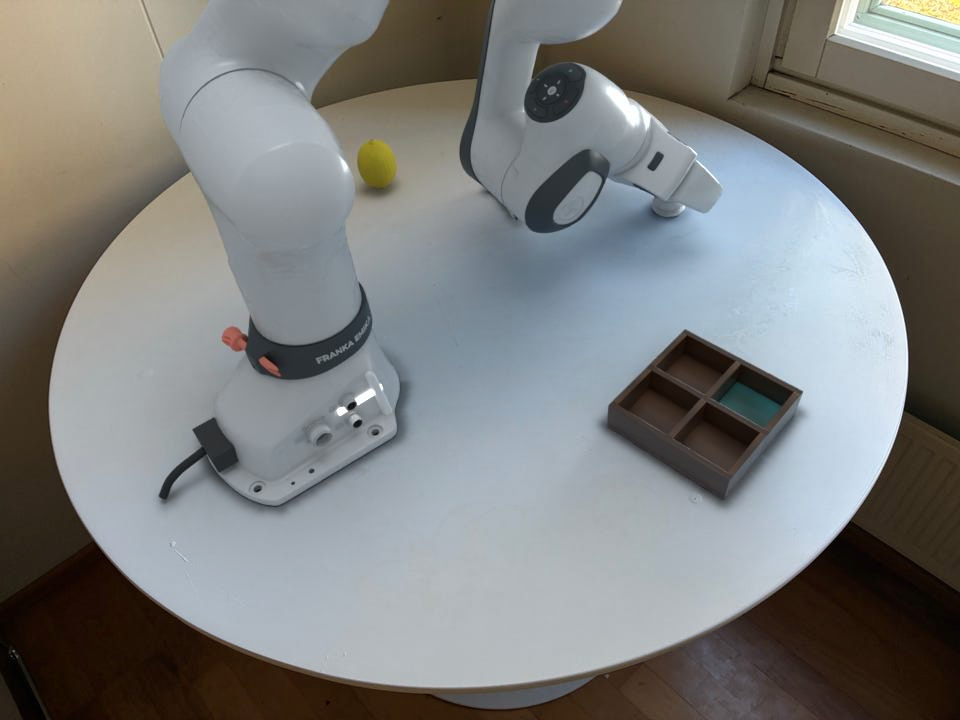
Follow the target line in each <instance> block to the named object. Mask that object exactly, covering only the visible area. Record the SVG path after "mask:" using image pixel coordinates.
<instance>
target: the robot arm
mask: <svg viewBox="0 0 960 720" xmlns="http://www.w3.org/2000/svg"><path fill="white" fill-rule="evenodd" d="M390 1H391V0H209V1H208V3H207V5H206V6H205V8H204V9H203V11H202V13H200V15H199V16H198V19H197V20H196V21H195V23H194V25H193V27H192V28H191V29H190V31H189V33H188V34H186V35H183V37H181V38H180V39H178V40H177V41H175V43H174V44H172V45H171V46H170V48H168V50H167V51H166V53H165V55H164V56H163V58H162V60H161V63H160V65H159V70H158V77H157V79H158V80H157V81H158V82H157V83H158V97H159V105H160V106H159V107H160V111H161V116H162V120H163V123H164V125H165V127H166V129H167V131H168V132H169V134H170V136H171V137H172V139H173V141H174V143H175V145H176V146H177V149H178V151H179V152H180V153H181V156H182V157H183V161H184V162H185V164H186V166H187V168H188V170H189V171H190V173H191V175H192V177H193V179H194V181H195V182H196V184H197V186H198V188H199V190H200V192H201V193H202V196H203V198H204V200H205V202H206V204H207V206H208V208H209V211H210V213H211V215H212V218H213V220H214V223H215V225H216V229H217V230H218V233H219V236H220V238H221V241H222V244H223V248H224V251H225V254H226V257H227V263H228V266H229V269H230V272H231V273H232V275H233V278H234V281H235V282H236V285H237V287H238V289H239V292H240V295H241V297H242V299H243V301H244V304H245V306H246V309H247V311H248V314H249V319H248V330H247V334H246V333H243V332H242V331H241V329H240V328H238V327H237V326H228V327H227V328H226V329H225V330H223V332H222V336H221V339H222V340H221V342H222V343H223V344H225V345H226V346H227V347H230V349H231V350H232V351H234V352H241V351H243V352H244V354H243V355H242V357H241V358H240V360H239V361H238V363H237V365H236V366H235V368H234V369H233V371H232V373H231V374H230V375H229V377H228V378H227V380H226V381H225V383H224V385H223V386H222V387H221V389H220V390H219V392H218V394H217V395H216V397H215V400H214V406H213V411H214V416H212V417H211V418H210V419H208V420H206V421H205V422H203V423H201V424H199V425H197V426H195V427H194V428H192V429H191V430H192V432H193V434H194V436H195V437H196V440H197V441H198V442H199V444H200V446H201V447H200V448H198V449H197V450H196V451H195V452H193V453H192V454H191V455H189V456H188V457H186V458H185V459H183V461H181V462H180V463H179V464H178V465H176V466H175V467H174V468H173V469H172V470H171V471H170V473H168V475H167V476H166V477H165V480H164V481H163V483H162V485H161V487H160V491H159V494H158V497H159V499H161V500H167V499H168V497H169V495H170V492H171V490H172V487H173V485H174V484H175V483H176V481H177V480H178V479H179V478H180V477H181V476H182V475H183V474H184V473H185V472H186V471H188V470H189V469H190V468H191V467H192V466H193V465H195V464H196V463H198V462H199V461H200V460H201V459H203V458H204V457H205V456H207V459H208V461H209V463H210V464H211V466H212V467H213V469H214V471H215V472H216V473H217V475H218V476H219V477H220V478H221V479H222V480H223V481H224V482H225V484H227V485H229V486H230V487H231V488H232V489H233V490H234V491H235V492H238V493H239V494H240V495H241V496H243V497H244V498H246V499H248V500H250V501H253V502H255V503H257V504H261V505H265V506H273V507H277V506H281V505H283V504H285V503H287V502H289V501H290V500H292V499H294V498H295V497H296V496H299V495H300V494H302V493H303V492H305V491H307V490H308V489H310V488H312V487H313V486H315V485H317V484H318V483H320V482H322V481H323V480H325V479H327V478H328V477H330V476H332V475H334V474H335V473H337V472H338V471H340V470H342V469H343V468H345V467H347V466H348V465H350V464H351V463H353V462H355V461H357V460H358V459H360V458H361V457H363V456H365V455H366V454H368V453H370V452H372V451H374V450H375V449H376V448H378V447H380V446H382V445H383V444H385V443H387V442H388V441H390V440H391V439H393V438H394V437H395V436H396V434H397V431H398V422H397V418H396V407H397V404H398V401H399V397H400V391H401V385H400V378H399V375H398V372H397V370H396V368H395V367H394V365H393V364H392V363H391V362H390V360H389V359H388V358H387V356H386V355H385V353H384V351H383V350H382V348H381V345H380V344H379V341H378V339H377V337H376V335H375V333H374V329H373V315H372V314H373V313H372V311H371V308H370V303H369V299H368V297H367V294H366V291H365V288H364V287H363V285H362V283H361V282H360V281H359V280H358V274H357V272H356V267H355V263H354V259H353V256H352V253H351V247H350V244H349V241H348V235H347V234H348V233H347V226H346V223H347V220H348V218H349V216H350V214H351V211H352V209H353V206H354V201H355V194H356V193H355V190H356V189H355V188H356V187H355V180H354V176H353V173H352V171H351V168H350V167H351V166H350V164H349V161H348V159H347V157H346V154H345V153H344V149H343V148H342V145H341V142H340V141H339V139H338V137H337V134H336V133H335V131H334V129H333V128H332V127H331V126H330V124H329V123H328V122H327V121H326V120H325V118H324V117H323V116H322V115H321V114H320V112H319V111H318V110H317V109H316V108H315V106H314V105H312V97H313V95H314V91H315V89H316V87H317V85H318V84H319V83H320V81H321V79H322V78H323V77H324V75H326V73H327V72H328V70H329V69H330V68H331V67H332V66H333V64H334V63H335V62H336V61H337V60H338V58H339V57H341V56H342V54H344V53H345V52H346V51H347V50H349V49H351V48H352V47H356V46H359V45H362V44H363V43H365V42H366V41H368V40H369V39H370V38H371V37H372V36H373V35H374V33H375V32H376V31H377V30H378V28H379V25H380V23H381V21H382V19H383V17H384V14H385V13H386V10H387V8H388V5H389V4H390ZM622 3H623V0H491V1H490V6H489V9H488V13H487V17H486V18H487V19H486V23H485V29H484V34H483V40H482V47H481V48H482V49H481V54H480V60H479V65H478V72H477V80H476V84H475V85H476V86H475V91H474V97H473V102H472V106H471V109H470V112H469V115H468V118H467V120H466V123H465V124H464V125H465V126H464V128H463V131H462V134H461V137H460V141H459V147H458V148H459V149H458V150H459V151H458V153H459V155H458V156H459V162H460V165H461V167H462V169H463V171H464V172H465V173H466V174H467V176H469V177H470V178H472V179H473V180H474V181H475V182H477V183H478V184H479V185H480V186H482V188H485V189H486V190H487V189H488V190H489V191H488V190H487V191H488V192H490V193H491V195H493V196H494V197H495V199H497V200H498V201H499V202H500V203H501V204H502V205H503V206H504V207H505V208H506V210H507V209H508V210H510V211H511V212H512V213H513V214H514V215H515V217H517V219H518V220H519V221H520V222H522V223H523V224H524V225H525V226H526V227H527V229H529V230H530V231H532V232H534V233H535V234H536V233H537V234H553V233H557V232H560V231H563V230H565V229H567V228H570V227H571V226H574V225H576V223H579V222H580V221H581V220H582V219H583V218H584V217H585V216H586V215H587V214H588V212H589V211H590V210H591V209H592V208H593V206H594V204H595V203H596V202H597V200H598V198H599V197H600V195H601V193H602V191H603V189H604V186H605V184H606V181H607V179H608V180H610V181H612V182H614V183H616V184H622V185H625V186H628V187H632V188H636V189H638V190H640V191H643V192H645V193H647V194H650V195H651V196H653V197H654V196H655V197H656V198H660V199H661V200H663V201H667V200H668V199H671V200H673V201H675V202H678V203H680V204H682V205H684V206H685V208H689V209H691V210H694V211H696V212H698V213H701V214H707V213H710V211H711V210H712V209H713V208H714V207H715V205H716V204H717V202H718V201H719V199H720V198H721V196H722V194H723V191H724V188H723V186H722V184H721V183H720V182H719V180H718V179H716V178H715V176H714V175H713V174H712V173H711V172H710V171H709V170H708V169H707V168H706V167H705V166H704V165H702V163H700V162H699V161H698V160H697V157H698V154H697V152H696V151H695V150H693V148H691V147H690V146H689V145H687V144H686V143H684V142H683V141H681V140H680V139H678V138H677V137H675V135H673V134H672V133H671V132H670V131H669V130H668V129H667V128H666V126H665V125H664V124H663V123H662V122H661V121H660V120H658V118H657V117H656V116H654V115H653V114H652V113H651V112H649V111H648V110H647V109H646V108H644V106H642V105H641V104H640V103H638V102H637V101H636V100H634V99H632V98H630V97H627V95H626V94H625V92H624V91H623V89H621V87H619V86H618V85H617V84H615V82H613V81H612V80H610V79H609V78H608V77H606V76H605V75H604V74H602V73H600V71H597V70H595V69H594V68H592V67H590V66H588V65H585V64H582V63H578V62H573V61H565V62H564V61H563V62H559V63H555V64H552V65H549V66H547V67H546V68H544V69H543V70H541V71H540V72H539V73H537V74H536V75H535V76H534V77H533V71H534V68H535V63H536V59H537V55H538V51H539V48H540V45H558V44H560V45H561V44H566V43H572V42H575V41H580V40H582V39H585V38H588V37H590V36H593V35H594V34H596V33H597V32H599V31H600V30H602V29H603V28H604V27H606V25H608V23H609V22H611V21H612V19H613V18H614V17H615V16H616V15H617V13H618V12H619V10H620V9H621V6H622ZM532 77H533V79H532ZM508 210H507V211H508ZM375 434H376V435H375ZM258 490H260V491H258ZM257 491H258V492H257Z"/></svg>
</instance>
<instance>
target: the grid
mask: <svg viewBox="0 0 960 720" xmlns="http://www.w3.org/2000/svg"><path fill="white" fill-rule="evenodd" d="M803 394H804V390H802V389H800V388H798V387H796V386H794V385H793V384H790V383H789V382H787V381H785V380H783V379H781V378H779V377H777V376H775V375H774V374H772V373H770V372H768V371H766V370H764V369H763V368H760V367H759V366H756V365H755V364H753V363H751V362H749V361H747V360H745V359H743V358H741V357H740V356H738V355H735V354H734V353H731V352H730V351H728V350H727V349H724V348H722V347H721V346H719V345H717V344H714V343H713V342H711V341H709V340H707V339H705V338H704V337H702V336H700V335H697V334H696V333H694V332H692V331H690V330H688V329H686V328H685V329H684V330H682V331H681V332H680V334H678V335H677V336H676V337H675V339H673V340H672V341H671V342H670V343H669V344H668V345H667V346H666V347H665V348H664V349H663V350H662V351H661V352H660V353H659V354H658V355H657V356H656V357H655V358H654V359H653V360H652V361H651V362H650V364H648V365H647V366H646V367H645V368H644V369H643V370H642V371H641V372H640V373H639V374H638V375H637V376H636V377H635V378H634V379H633V380H632V381H631V382H630V383H629V384H628V385H627V386H626V387H625V388H624V389H623V390H622V391H621V392H620V393H619V394H618V395H617V396H616V397H615V398H614V399H613V400H612V401H611V402H610V403H608V406H607V417H606V418H607V419H606V426H607V428H609V429H611V430H613V431H614V432H616V433H617V434H619V435H620V436H622V437H623V438H625V439H626V440H628V441H630V442H631V443H633V444H635V445H636V446H637V447H639V448H641V449H642V450H644V451H646V452H647V453H649V454H650V455H652V456H653V457H655V458H657V460H659V461H661V462H663V463H665V465H668V466H669V467H670V468H672V469H674V470H675V471H677V472H678V473H680V474H681V475H683V476H684V477H686V478H688V479H689V480H691V482H692V481H693V482H694V483H695V484H697V485H698V486H700V487H702V488H704V489H705V490H707V491H708V492H710V493H711V494H713V495H715V496H716V497H718V498H719V499H721V500H722V501H725V499H726V498H727V497H728V496H729V495H730V493H732V491H733V489H734V488H735V487H736V486H737V485H738V484H739V482H741V480H742V478H744V476H746V474H747V473H748V472H749V470H750V469H751V468H752V467H753V466H754V464H755V463H756V462H757V460H758V459H759V458H760V457H761V455H762V454H763V453H765V451H766V449H767V448H768V447H769V446H770V444H771V443H772V442H773V441H774V440H775V439H776V437H777V436H778V435H779V434H780V432H781V431H782V430H783V429H784V427H786V425H787V424H788V422H790V420H791V419H792V418H793V416H794V415H795V414H796V413H797V410H798V407H799V404H800V402H801V399H802V396H803Z"/></svg>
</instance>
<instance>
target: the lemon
mask: <svg viewBox="0 0 960 720" xmlns="http://www.w3.org/2000/svg"><path fill="white" fill-rule="evenodd" d="M356 163H357V164H356V165H357V169H358V174H359V175H360V177H361V179H362V180H363V182H365V183H366V184H367V185H368V186H370V187H373V188H377V189H383V188H385V187H387V186H388V185H390V184H391V183H392V182H393V180H394V179H395V177H396V173H397V160H396V157H395V155H394V152H393V150H392V148H391V147H390V146H389V145H388V144H387V143H386V142H385V141H383V140H380V139H369V140H367V141H365V142H364V143H363V144H362V145H361V146H360V148H359V150H358V151H357V158H356Z"/></svg>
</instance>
